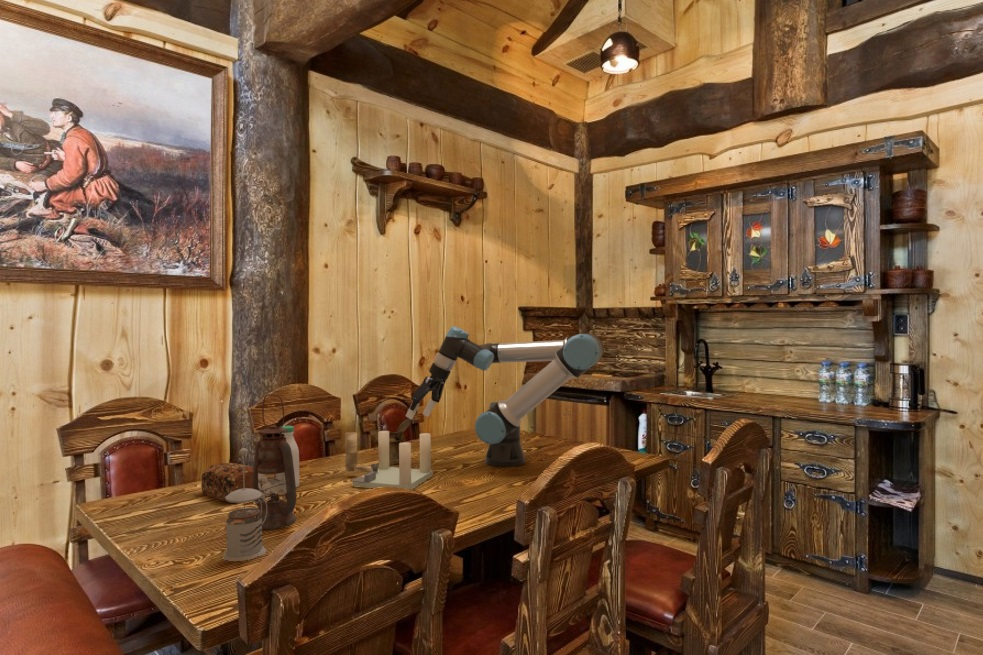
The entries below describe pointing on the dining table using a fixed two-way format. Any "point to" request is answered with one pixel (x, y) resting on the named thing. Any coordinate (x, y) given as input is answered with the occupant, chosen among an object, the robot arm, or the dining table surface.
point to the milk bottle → (295, 453)
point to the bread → (226, 479)
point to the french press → (244, 525)
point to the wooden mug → (397, 441)
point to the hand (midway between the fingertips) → (417, 416)
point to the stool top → (404, 473)
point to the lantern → (274, 459)
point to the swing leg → (355, 455)
